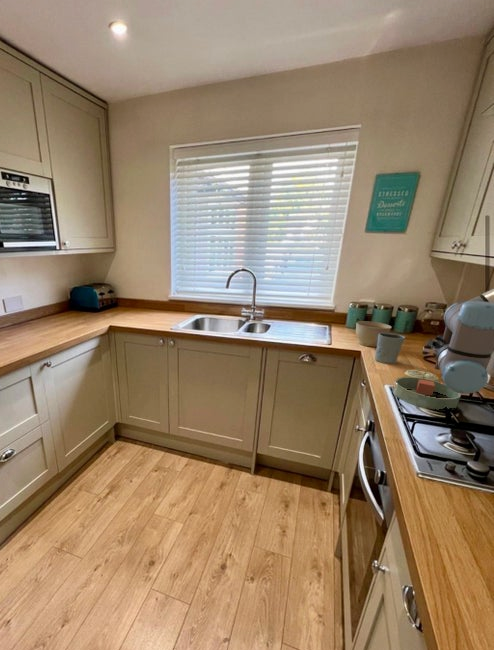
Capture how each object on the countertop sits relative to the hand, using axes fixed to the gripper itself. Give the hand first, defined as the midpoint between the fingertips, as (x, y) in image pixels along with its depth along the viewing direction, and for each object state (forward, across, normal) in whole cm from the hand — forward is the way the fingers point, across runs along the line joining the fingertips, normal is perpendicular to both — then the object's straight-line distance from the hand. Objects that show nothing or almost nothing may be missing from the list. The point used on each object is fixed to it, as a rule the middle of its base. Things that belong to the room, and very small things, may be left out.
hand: (445, 340), depth 102 cm
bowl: (+4, 0, -22) cm, 22 cm away
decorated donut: (+22, -1, -22) cm, 31 cm away
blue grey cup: (+44, -13, -22) cm, 51 cm away
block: (+7, 0, -21) cm, 23 cm away
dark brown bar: (-8, 0, -7) cm, 11 cm away
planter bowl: (+70, -21, -22) cm, 76 cm away
